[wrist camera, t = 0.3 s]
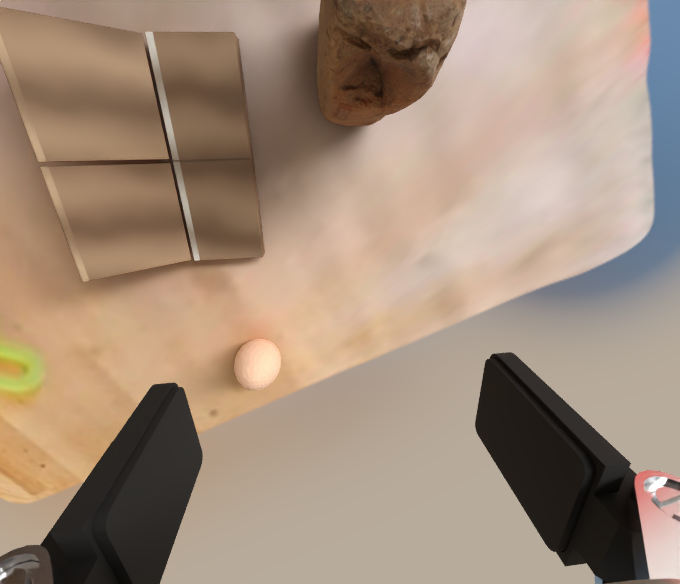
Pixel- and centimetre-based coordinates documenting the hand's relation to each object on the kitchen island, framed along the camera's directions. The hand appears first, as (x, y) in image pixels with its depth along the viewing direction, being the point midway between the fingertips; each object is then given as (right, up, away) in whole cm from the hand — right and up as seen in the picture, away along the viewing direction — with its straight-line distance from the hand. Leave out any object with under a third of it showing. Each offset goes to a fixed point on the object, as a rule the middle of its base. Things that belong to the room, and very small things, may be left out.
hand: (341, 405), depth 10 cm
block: (+1, +26, +22) cm, 34 cm away
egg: (-11, -4, +34) cm, 36 cm away
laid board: (-13, +18, +24) cm, 33 cm away
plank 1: (-22, +21, +18) cm, 36 cm away
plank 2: (-22, +11, +22) cm, 33 cm away
